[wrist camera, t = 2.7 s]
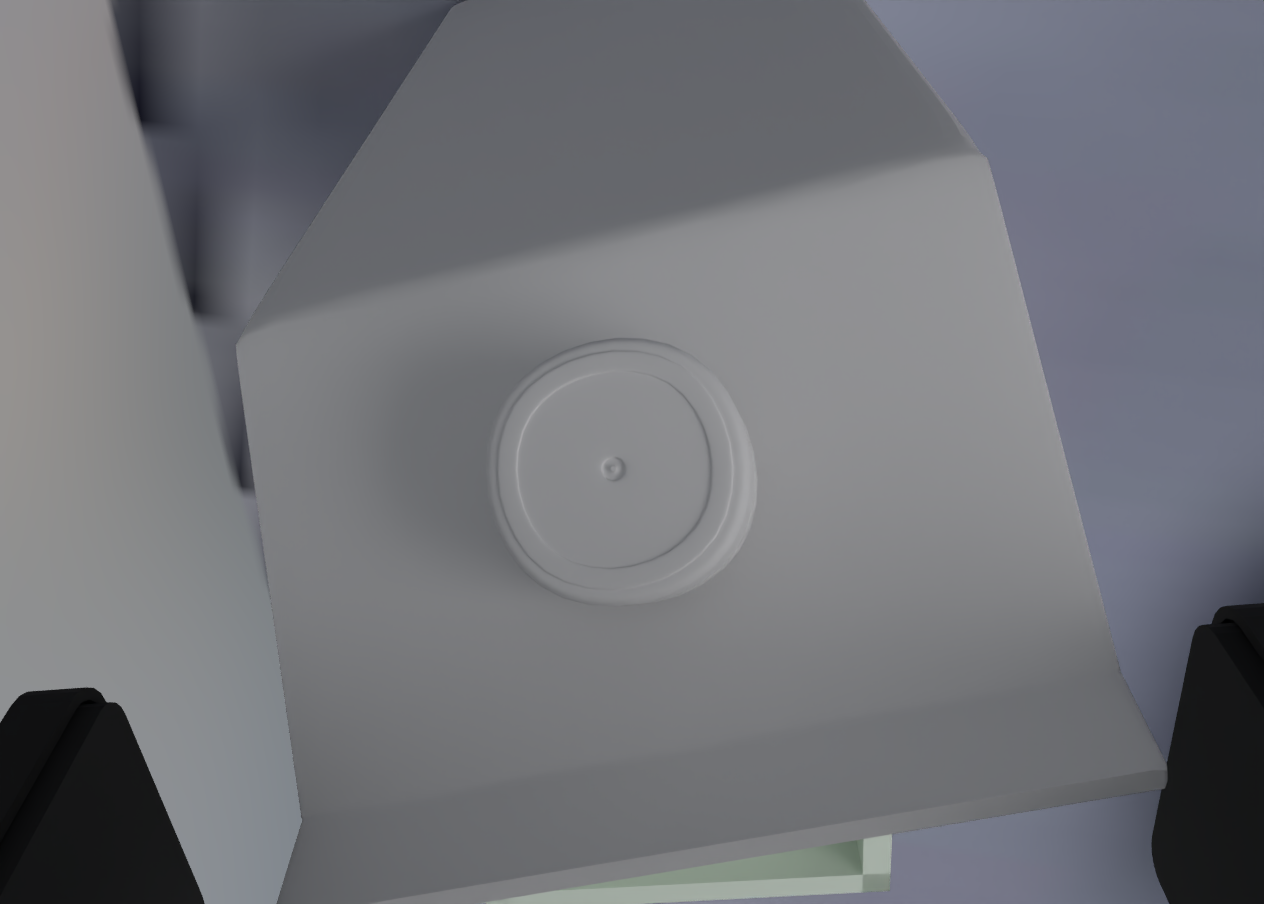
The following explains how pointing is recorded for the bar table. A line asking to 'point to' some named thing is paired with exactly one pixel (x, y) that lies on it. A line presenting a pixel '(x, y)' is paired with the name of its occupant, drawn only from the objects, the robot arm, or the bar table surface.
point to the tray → (745, 878)
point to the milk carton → (665, 467)
